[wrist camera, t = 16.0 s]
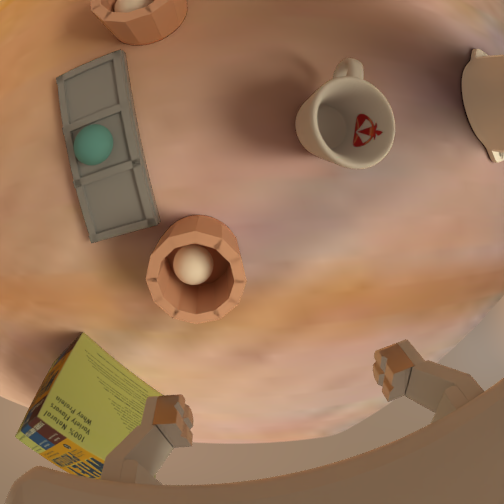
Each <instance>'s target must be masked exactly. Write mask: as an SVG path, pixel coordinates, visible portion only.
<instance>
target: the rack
mask: <svg viewBox="0 0 504 504" xmlns="http://www.w3.org/2000/svg"><path fill="white" fill-rule="evenodd" d="M56 81H57V84H58V94H59V103H60V110H61V118H62V124H63V128H62V129H63V135H64V136H65V142H66V147H67V152H68V157H69V162H70V166H71V171H72V175H73V179H74V181H73V183H74V187H75V188H76V191H77V195H78V199H79V203H80V206H81V210H82V213H83V217H84V220H85V223H86V226H87V230H88V233H89V238H90V241H91V243H94V242H98V241H101V240H105V239H108V238H112V237H115V236H119V235H122V234H126V233H130V232H133V231H137V230H141V229H144V228H148V227H152V226H156V225H158V224H159V223H160V222H161V221H160V217H159V213H158V210H157V206H156V202H155V198H154V194H153V191H152V187H151V183H150V179H149V174H148V170H147V166H146V162H145V157H144V153H143V148H142V144H141V139H140V134H139V130H138V125H137V119H136V114H135V109H134V104H133V98H132V92H131V86H130V80H129V74H128V67H127V60H126V53H125V52H124V51H122V50H118V51H115V52H112V53H110V54H107V55H105V56H102V57H100V58H97V59H95V60H93V61H90V62H88V63H86V64H84V65H81V66H79V67H77V68H75V69H73V70H71V71H69V72H67V73H65V74H63V75H61V76H59V77H57V78H56ZM92 124H99V125H102V126H105V127H106V128H107V129H108V130H109V131H110V132H111V134H112V137H113V148H112V151H111V153H110V155H109V157H108V158H107V159H106V160H105V161H103V162H102V163H100V164H97V165H93V166H91V165H85V164H83V163H81V162H80V161H79V160H78V159H77V158H76V156H75V153H74V141H75V138H76V136H77V134H78V133H79V132H80V131H81V130H82V129H83V128H84V127H86V126H88V125H92Z"/></svg>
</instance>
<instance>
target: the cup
mask: <svg viewBox="0 0 504 504" xmlns="http://www.w3.org/2000/svg"><path fill="white" fill-rule="evenodd" d="M363 76H364V70H363V65H362V63H361V62H360V61H358V60H356V59H354V58H345V59H343V60H342V61H341V62H340V63H339V64H338V65H337V67H336V69H335V71H334V74H333V79H331V80H329V81H327V82H326V83H324V84H323V85H322V86H321V87H320V88H319V89H318V90H317V91H316V92H315V93H314V94H312V95H311V96H310V97H309V98H308V99H307V100H306V101H305V102H304V104H303V105H302V106H301V107H300V109H299V111H298V113H297V116H296V121H295V128H296V133H297V136H298V139H299V141H300V142H301V144H302V145H303V146H304V148H305V149H306V150H307V151H309V152H310V153H311V154H313V155H315V156H317V157H319V158H321V159H324V160H327V161H329V162H332V163H335V164H337V165H340V166H342V167H345V168H350V169H364V168H369V167H371V166H374V165H376V164H377V163H379V162H380V161H381V160H382V159H383V158H384V157H385V156H386V155H387V154H388V152H389V150H390V149H391V146H392V144H393V141H394V137H395V119H394V115H393V112H392V109H391V107H390V104H389V102H388V101H387V99H386V98H385V96H384V95H383V94H382V93H381V92H380V91H379V90H378V89H377V88H376V87H375V86H374V85H372V84H371V83H369V82H367V81H365V80H363Z"/></svg>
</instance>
